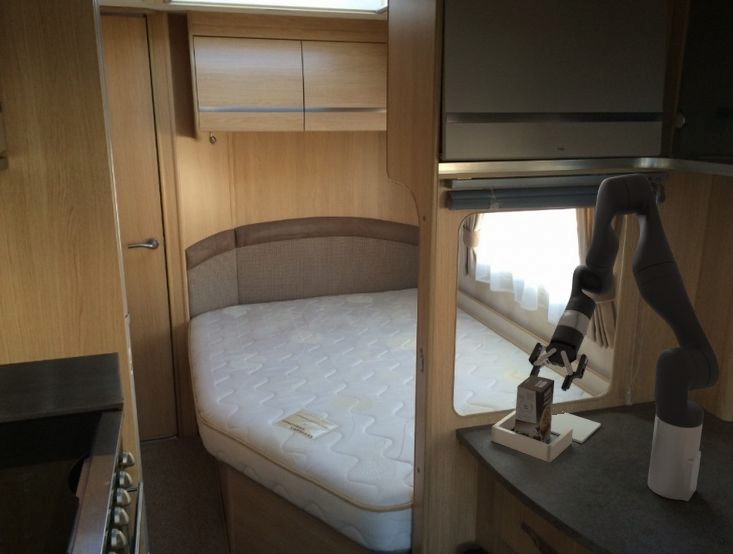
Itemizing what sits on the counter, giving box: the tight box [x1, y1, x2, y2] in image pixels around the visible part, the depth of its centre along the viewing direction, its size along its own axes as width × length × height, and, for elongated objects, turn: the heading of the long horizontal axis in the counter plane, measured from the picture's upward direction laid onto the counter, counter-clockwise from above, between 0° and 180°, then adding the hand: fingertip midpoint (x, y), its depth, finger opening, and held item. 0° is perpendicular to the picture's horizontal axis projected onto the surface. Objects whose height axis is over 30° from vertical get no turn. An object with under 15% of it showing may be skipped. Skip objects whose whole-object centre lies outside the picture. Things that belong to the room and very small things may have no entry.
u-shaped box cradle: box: [490, 409, 573, 463], centre depth 164 cm, size 16×12×4 cm
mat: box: [551, 412, 602, 444], centre depth 173 cm, size 14×12×1 cm
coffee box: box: [513, 375, 555, 443], centre depth 163 cm, size 9×6×16 cm
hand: (547, 385), depth 167 cm, fingers open, 8 cm apart
